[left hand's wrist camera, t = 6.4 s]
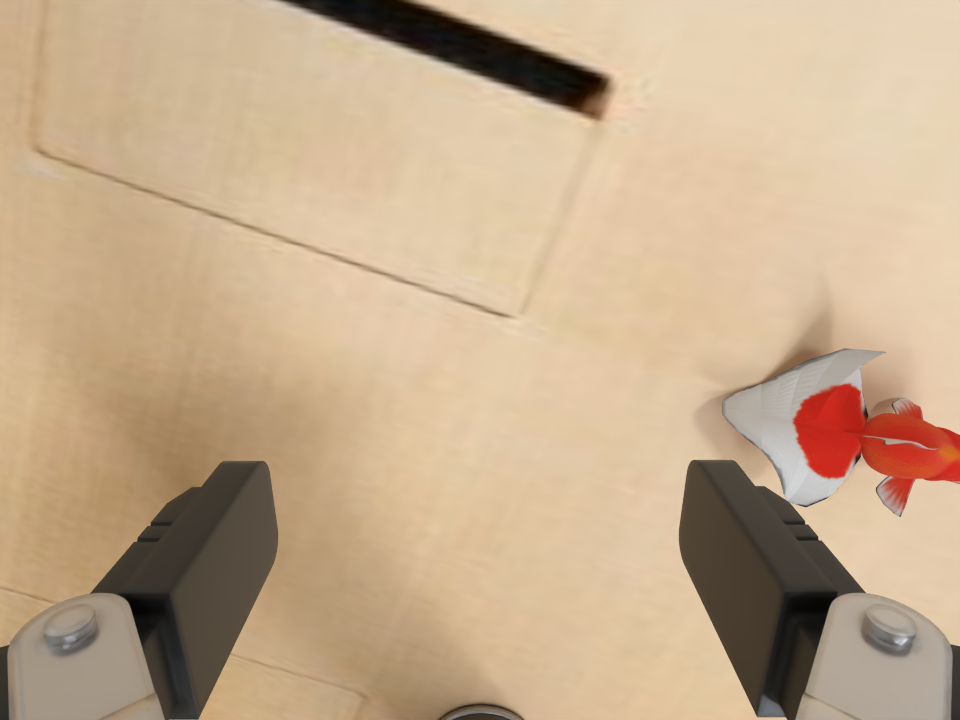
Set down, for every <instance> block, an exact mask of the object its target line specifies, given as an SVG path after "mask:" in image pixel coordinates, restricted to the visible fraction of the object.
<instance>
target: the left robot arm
mask: <svg viewBox="0 0 960 720" xmlns="http://www.w3.org/2000/svg"><path fill="white" fill-rule="evenodd" d="M679 545H680V552H681V556H682V560H683V562H684V565H685V567H686V569H687V571H688V573H689V575H690V577H691V579H692V582H693V584H694V586H695V588H696V590H697V592H698V594H699V596H700V598H701V600H702V603H703V605H704V607H705V609H706V611H707V613H708V615H709V617H710V619H711V621H712V623H713V626H714V628H715V630H716V632H717V634H718V636H719V638H720V640H721V642H722V644H723V646H724V649H725V651H726V653H727V655H728V657H729V659H730V661H731V663H732V665H733V667H734V669H735V672H736V674H737V676H738V678H739V680H740V682H741V684H742V686H743V688H744V690H745V692H746V695H747V697H748V699H749V701H750V703H751V705H752V707H753V709H754V711H755V713H756V715H757V717H786V718H787V720H960V646H955V645H951V644H950V643H949V641H948V640H947V638H946V637H945V635H944V634H943V633H942V632H941V630H940V629H939V628H938V627H937V626H936V625H935V624H933V623H932V622H931V621H930V620H929V619H927V618H926V617H925V616H923V615H922V614H920V613H919V612H917V611H915V610H914V609H912V608H910V607H908V606H906V605H904V604H902V603H899V602H897V601H894V600H892V599H889V598H886V597H882V596H878V595H874V594H867V593H865V591H864V590H863V589H862V588H861V587H860V585H859V584H858V583H857V582H856V581H855V580H854V578H853V577H852V576H851V575H850V574H849V572H848V571H847V570H846V569H845V568H844V567H843V565H842V564H841V563H840V562H839V561H838V559H837V558H836V557H835V556H834V555H833V554H832V552H831V551H830V550H829V549H828V548H827V546H826V545H825V544H824V543H823V542H822V541H819V540H818V536H817V535H816V533H815V532H814V531H813V530H812V529H811V528H810V526H809V525H805V520H804V519H803V518H802V517H801V516H800V515H799V513H798V512H797V511H796V510H795V509H794V507H793V506H792V505H791V504H790V503H789V502H788V501H786V500H785V499H783V498H782V497H780V496H779V495H777V494H776V493H774V492H772V491H771V490H769V489H768V488H766V487H765V486H755V485H754V484H753V483H752V482H751V480H750V479H749V478H748V477H747V475H746V474H745V473H744V471H743V470H742V469H741V468H740V466H739V465H738V464H737V463H736V462H735V461H734V460H692V461H691V462H690V464H689V466H688V470H687V476H686V483H685V490H684V498H683V505H682V512H681V520H680V527H679ZM277 546H278V528H277V521H276V514H275V507H274V500H273V492H272V485H271V478H270V472H269V468H268V465H267V464H266V462H264V461H223V462H221V463H220V464H219V465H218V467H217V468H216V469H215V470H214V472H213V473H212V474H211V476H210V477H209V478H208V479H207V481H206V482H205V483H204V484H203V486H202V487H192V488H190V489H189V490H187V491H186V492H184V493H183V494H181V495H179V496H178V497H176V498H175V499H173V500H172V501H170V502H169V503H167V504H166V505H165V506H164V508H163V509H162V510H161V511H160V512H159V514H158V515H157V516H156V517H155V518H154V519H153V521H152V522H151V526H147V528H146V529H145V530H144V531H143V532H142V533H141V535H140V536H139V537H138V541H137V542H134V543H133V544H132V545H131V546H130V547H129V549H128V550H127V551H126V552H125V553H124V555H123V556H122V557H121V558H120V559H119V560H118V562H117V563H116V564H115V565H114V566H113V567H112V569H111V570H110V571H109V572H108V573H107V574H106V576H105V577H104V578H103V579H102V580H101V581H100V583H99V584H98V585H97V586H96V587H95V588H94V590H93V591H92V592H91V593H90V594H86V595H82V596H78V597H74V598H71V599H68V600H66V601H63V602H61V603H58V604H56V605H54V606H52V607H50V608H48V609H46V610H45V611H43V612H41V613H40V614H38V615H37V616H35V617H34V618H33V619H31V620H30V621H29V622H28V623H27V624H25V625H24V626H23V627H22V628H21V629H20V630H19V632H18V633H17V634H16V635H15V637H14V638H13V640H12V641H11V643H10V645H8V646H4V647H0V720H169V719H199V717H200V715H201V713H202V711H203V708H204V706H205V704H206V702H207V700H208V698H209V696H210V694H211V692H212V690H213V688H214V686H215V684H216V682H217V680H218V677H219V675H220V673H221V671H222V669H223V667H224V665H225V663H226V661H227V659H228V657H229V655H230V653H231V651H232V649H233V646H234V644H235V642H236V640H237V638H238V636H239V634H240V632H241V630H242V628H243V626H244V624H245V622H246V620H247V618H248V615H249V613H250V611H251V609H252V607H253V605H254V603H255V601H256V599H257V597H258V595H259V593H260V591H261V589H262V587H263V584H264V582H265V580H266V578H267V576H268V574H269V572H270V570H271V568H272V566H273V563H274V561H275V557H276V552H277ZM441 720H522V719H521V718H520V717H519V716H517V715H516V714H514V713H512V712H510V711H508V710H505V709H502V708H499V707H494V706H486V705H477V706H469V707H464V708H461V709H458V710H455V711H453V712H451V713H449V714H447V715H446V716H444V717H443V718H442V719H441Z"/></svg>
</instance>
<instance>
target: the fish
mask: <svg viewBox="0 0 960 720" xmlns="http://www.w3.org/2000/svg"><path fill="white" fill-rule="evenodd" d="M883 353H886V352H879V351H868V350H856V349H842V350H839V351H836V352H833V353H830V354H827V355H824V356H820V357H817V358H814V359H811V360H808V361H805V362H803V363H801V364H799V365H798V366H796V367H794V368H792V369H790V370H788V371H786V372H784V373H782V374H780V375H778V376H776V377H774V378H772V379H770V380H768V381H766V382H764V383H762V384H759V385H756V386H752V387H749V388H746V389H744V390H741V391H739V392H737V393H735V394H733V395H731V396H729V397H728V398H726V399H725V400H724V401H723V402H722V411H723V416H724V417H725V418H726V419H727V421H728V422H729V423H730V424H731V425H732V426H733V427H734V428H735V429H736V430H737V431H738V432H739V433H741V434H742V435H743V436H744V437H745V438H746V439H748V440H749V441H750V442H751V443H753V444H754V445H755V446H757V447H758V448H759V449H761V450H762V451H763V453H764V454H765V455H766V456H767V457H768V459H769V460H770V461H771V462H772V464H773V466H774V468H775V470H776V472H777V474H778V476H779V478H780V481H781V484H782V488H783V492H784V496H785V499H786V501H788V502H789V503H793V504H796V505H800V506H803V507H808V506H810V505H813V504H815V503H817V502H820V501H822V500H824V499H827V498H828V497H829V496H830V495H831V494H832V493H833V492H834V491H835V490H836V489H838V487H839V486H840V485H841V483H842V482H843V481H844V480H845V478H846V477H847V476H848V474H849V473H850V471H851V470H852V469H853V467H854V466H855V464H856V463H857V462H858V460H859V459H860V457H861V452H862V455H863V457H864V459H865V461H866V463H867V464H868V465H869V466H870V467H871V468H872V469H874V470H876V471H877V472H879V473H882V474H884V475H887V476H888V477H887V478H885V479H884V480H883V481H882V482H881V483H880V484H879V485H878V486H877V487H876V492H877V494H878V496H879V498H880V499H881V501H882V502H883V504H884V505H885V506H886V507H887V508H889V509H890V510H891V511H892V512H893V513H894V514H896V515H898V516H900V517H901V514H902V512H903V510H904V508H905V505H906V503H907V499H908V496H909V494H910V491H911V488H912V485H913V483H914V481H915V479H920V478H923V479H925V480H929V481H939V480H945V481H951V482H954V483H957V484H960V435H958V434H956V433H954V432H952V431H950V430H948V429H945V428H940V427H935V426H933V425H932V424H930V423H928V422H926V421H923V415H922V410H921V408H920V407H919V406H917V405H915V404H913V403H912V402H911V401H909V400H908V399H906V398H902V399H898V400H896V401H895V402H893V404H892V407H893V408H894V410H895V412H896V414H893V413H888V414H881V415H878V416H876V417H874V418H872V419H871V420H869V421H868V422H867V423H866V421H867V418H868V413H867V409H866V405H865V401H864V398H863V394H862V378H861V369H860V368H861V366H862V365H864V364H865V363H867V362H868V361H870V360H871V359H873V358H875V357H877V356H878V355H881V354H883Z"/></svg>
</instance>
